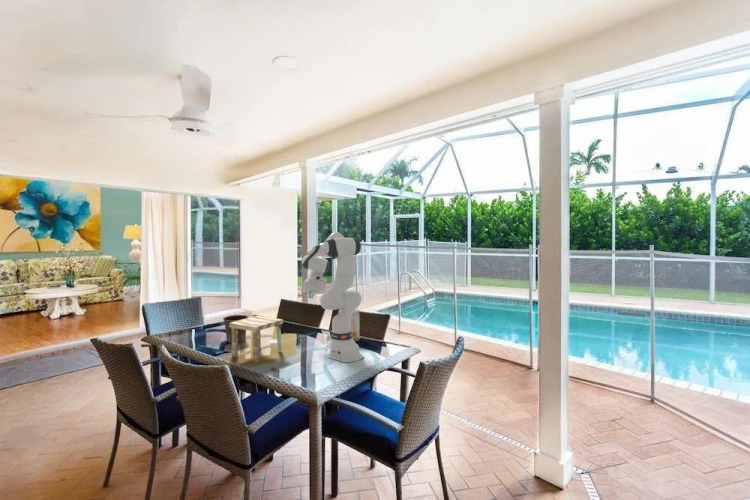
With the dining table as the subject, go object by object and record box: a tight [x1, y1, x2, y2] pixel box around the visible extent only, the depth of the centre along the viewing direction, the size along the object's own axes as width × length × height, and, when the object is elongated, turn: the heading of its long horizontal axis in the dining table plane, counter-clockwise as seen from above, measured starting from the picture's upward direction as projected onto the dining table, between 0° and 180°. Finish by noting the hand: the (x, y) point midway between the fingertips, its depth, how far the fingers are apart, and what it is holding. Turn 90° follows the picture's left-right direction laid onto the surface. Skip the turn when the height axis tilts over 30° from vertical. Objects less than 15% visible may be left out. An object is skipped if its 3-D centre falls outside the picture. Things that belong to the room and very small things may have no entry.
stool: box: [229, 315, 284, 363], centre depth 230 cm, size 22×22×20 cm
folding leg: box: [275, 325, 283, 352], centre depth 234 cm, size 2×2×17 cm
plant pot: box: [222, 314, 249, 344], centre depth 260 cm, size 16×16×16 cm
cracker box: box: [337, 309, 361, 342], centre depth 260 cm, size 14×6×21 cm, turn 84°
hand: (310, 298), depth 255 cm, fingers closed
